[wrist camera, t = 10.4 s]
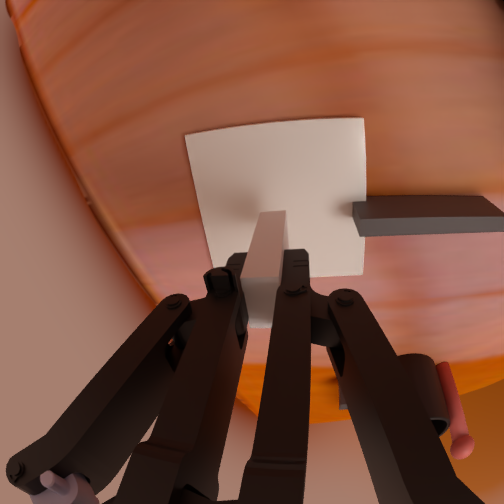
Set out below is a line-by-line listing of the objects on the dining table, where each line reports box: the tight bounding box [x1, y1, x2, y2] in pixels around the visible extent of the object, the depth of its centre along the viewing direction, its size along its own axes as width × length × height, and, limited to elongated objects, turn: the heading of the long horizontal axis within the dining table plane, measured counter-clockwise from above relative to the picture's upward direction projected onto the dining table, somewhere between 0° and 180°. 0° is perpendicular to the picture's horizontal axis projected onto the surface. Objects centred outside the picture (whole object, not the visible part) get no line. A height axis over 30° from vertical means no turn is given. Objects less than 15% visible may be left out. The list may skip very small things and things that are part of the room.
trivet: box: [185, 117, 366, 277], centre depth 21 cm, size 12×12×1 cm
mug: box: [397, 354, 450, 437], centre depth 27 cm, size 9×12×9 cm
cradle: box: [338, 195, 504, 459], centre depth 19 cm, size 23×15×13 cm, turn 8°
